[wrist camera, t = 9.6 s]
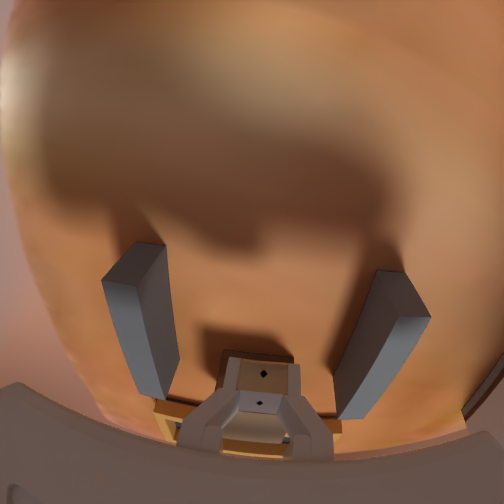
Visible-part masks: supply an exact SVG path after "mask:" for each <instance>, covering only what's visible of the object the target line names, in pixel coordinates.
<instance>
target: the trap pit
mask: <svg viewBox="0 0 504 504" xmlns="http://www.w3.org/2000/svg"><path fill="white" fill-rule="evenodd" d="M198 406H199V405H198V404H193V403H188V402H183V401H178V400H174V399H170V398H166V400H161V399H158V400H157V402H156V405H155V408H154V411H153V413H154V415H155V417H156V420H157V422H158V424H159V426H160V428H161V430H162V432H163V434H164V436H165V439H166V441H169V442H173V443H176V442H177V439H178V435H179V432H180V428H181V424H182V421H183V419H184V418H185V417H186V416H187V415H189V414H190V413H191V412H192V411H193V410H194V409H196V408H197V407H198ZM320 418H321V419H322V421H323V422H324V423H325V424H326V426H327V427H328V428H329V430H330V431H331V432H332V434H333V444H334V443H335V441H336V440H337V439H338V438H339V437H340V436H341V435H342V424H341V420H337V417H320ZM290 442H291V439H290V437H289V436H288V434H287V432H286V434H285V437H284V439H283V441H282V443H281V444H274V443H261V442H250V441H241V440H233V439H226V438H223V452H224V453H231V454H238V455H247V456H257V457H270V458H283V453H284V452H285V450H286V448H287V447H288V445H289V444H290Z"/></svg>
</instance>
